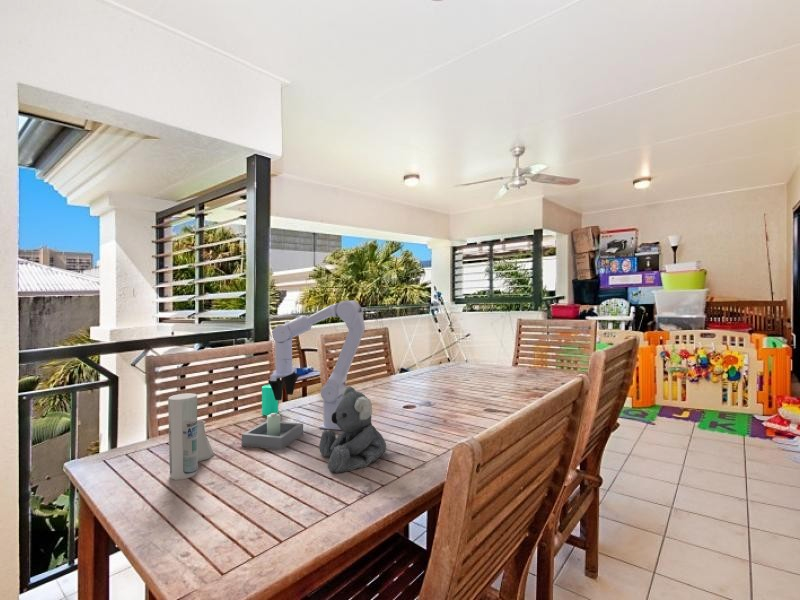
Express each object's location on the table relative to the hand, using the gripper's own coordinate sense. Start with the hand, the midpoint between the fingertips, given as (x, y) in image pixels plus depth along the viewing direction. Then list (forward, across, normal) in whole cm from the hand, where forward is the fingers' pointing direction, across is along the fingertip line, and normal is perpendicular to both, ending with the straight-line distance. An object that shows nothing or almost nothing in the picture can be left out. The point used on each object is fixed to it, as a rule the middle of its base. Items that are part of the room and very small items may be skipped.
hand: (284, 397), depth 142 cm
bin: (+9, +15, +5) cm, 18 cm away
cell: (+9, +15, +5) cm, 18 cm away
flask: (+10, +32, -8) cm, 34 cm away
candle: (+10, -10, -12) cm, 18 cm away
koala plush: (+10, +22, +35) cm, 42 cm away
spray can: (+10, +42, -4) cm, 43 cm away
